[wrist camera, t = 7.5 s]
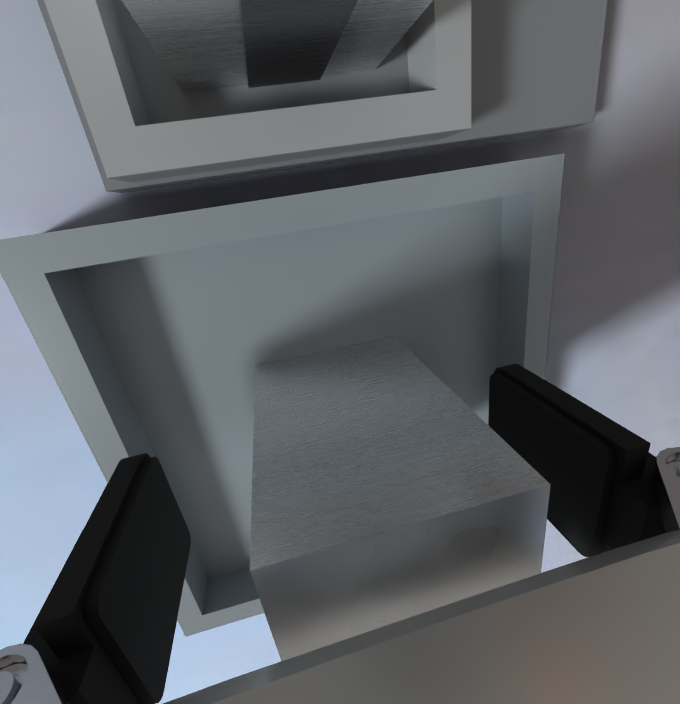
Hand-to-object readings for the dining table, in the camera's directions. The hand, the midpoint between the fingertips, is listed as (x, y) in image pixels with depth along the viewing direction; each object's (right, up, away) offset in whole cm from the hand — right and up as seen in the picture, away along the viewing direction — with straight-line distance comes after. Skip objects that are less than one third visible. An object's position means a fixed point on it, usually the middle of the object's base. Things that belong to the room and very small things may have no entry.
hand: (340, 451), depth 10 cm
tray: (0, +1, +3) cm, 3 cm away
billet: (0, +1, +2) cm, 2 cm away
